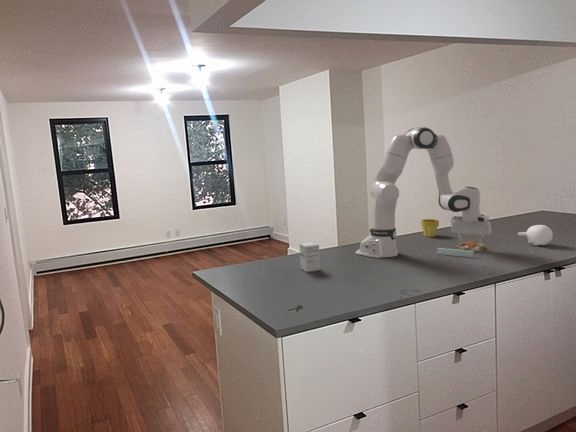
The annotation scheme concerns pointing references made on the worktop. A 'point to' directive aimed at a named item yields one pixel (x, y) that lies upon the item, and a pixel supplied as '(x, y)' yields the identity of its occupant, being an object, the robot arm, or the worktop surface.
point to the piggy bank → (538, 234)
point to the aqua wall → (455, 252)
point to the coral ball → (471, 243)
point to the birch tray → (464, 246)
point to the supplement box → (309, 256)
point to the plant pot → (429, 227)
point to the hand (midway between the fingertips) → (470, 242)
